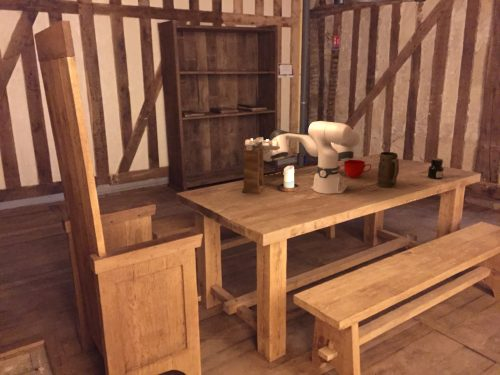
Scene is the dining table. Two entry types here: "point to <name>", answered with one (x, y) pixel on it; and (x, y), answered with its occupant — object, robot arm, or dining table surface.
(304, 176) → the dining table surface
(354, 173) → the ceramic cup
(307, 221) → the dining table surface
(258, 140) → the brushed square bar end
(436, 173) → the ink bottle
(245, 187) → the knife block
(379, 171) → the beer stein
